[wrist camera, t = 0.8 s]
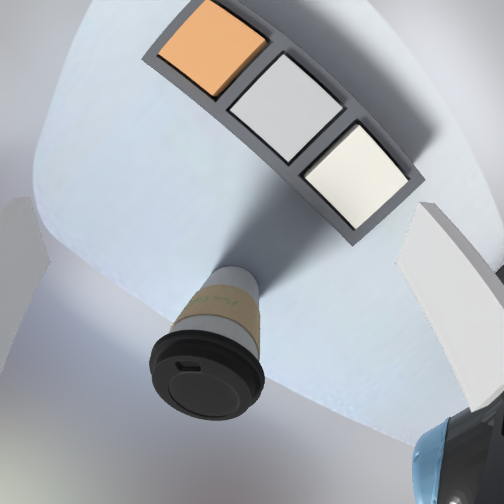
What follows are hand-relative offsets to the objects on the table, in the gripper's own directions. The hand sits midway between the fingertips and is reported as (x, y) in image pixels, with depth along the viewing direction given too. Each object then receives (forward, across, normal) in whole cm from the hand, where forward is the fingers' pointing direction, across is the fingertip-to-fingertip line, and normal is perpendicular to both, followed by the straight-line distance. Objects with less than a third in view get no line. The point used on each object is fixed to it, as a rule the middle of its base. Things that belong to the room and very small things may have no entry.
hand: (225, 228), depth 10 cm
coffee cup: (+18, -2, +20) cm, 27 cm away
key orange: (+20, +1, -5) cm, 20 cm away
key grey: (+17, -5, 0) cm, 18 cm away
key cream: (+15, -11, +4) cm, 19 cm away
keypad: (+20, -6, 0) cm, 21 cm away
